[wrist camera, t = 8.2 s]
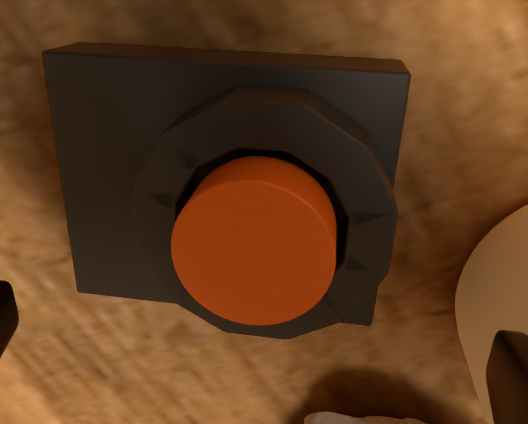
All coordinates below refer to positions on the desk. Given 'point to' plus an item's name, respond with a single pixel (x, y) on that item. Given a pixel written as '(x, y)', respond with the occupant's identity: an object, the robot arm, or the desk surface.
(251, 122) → the switch base
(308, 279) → the switch
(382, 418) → the grey stone
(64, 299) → the desk surface
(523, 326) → the mug
